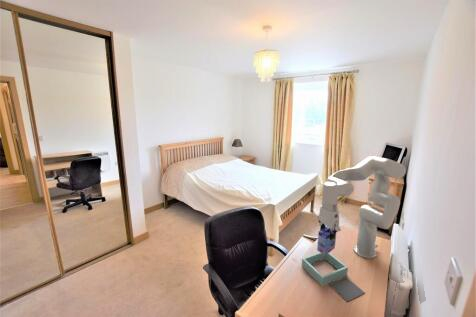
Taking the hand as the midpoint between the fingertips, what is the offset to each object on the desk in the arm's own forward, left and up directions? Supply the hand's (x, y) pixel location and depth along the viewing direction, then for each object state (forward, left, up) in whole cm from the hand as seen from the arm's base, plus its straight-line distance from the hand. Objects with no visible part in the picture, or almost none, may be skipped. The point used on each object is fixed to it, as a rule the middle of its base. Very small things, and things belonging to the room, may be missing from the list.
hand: (327, 235), depth 115 cm
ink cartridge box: (0, 0, -9) cm, 9 cm away
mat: (-1, +15, -22) cm, 27 cm away
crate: (0, 0, -22) cm, 22 cm away
